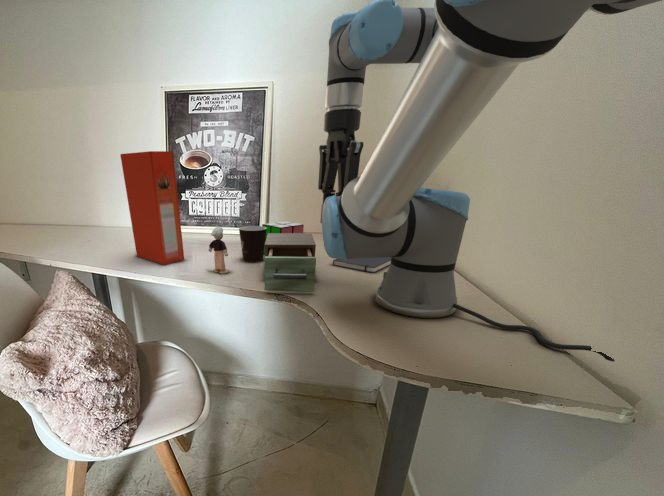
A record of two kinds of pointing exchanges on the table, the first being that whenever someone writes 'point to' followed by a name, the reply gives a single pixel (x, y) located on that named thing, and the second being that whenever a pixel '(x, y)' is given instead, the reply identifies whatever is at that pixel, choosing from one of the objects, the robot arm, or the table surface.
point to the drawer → (290, 269)
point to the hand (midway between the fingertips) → (333, 222)
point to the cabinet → (290, 241)
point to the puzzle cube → (283, 228)
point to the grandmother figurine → (218, 250)
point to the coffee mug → (252, 242)
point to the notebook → (364, 263)
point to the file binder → (153, 205)
